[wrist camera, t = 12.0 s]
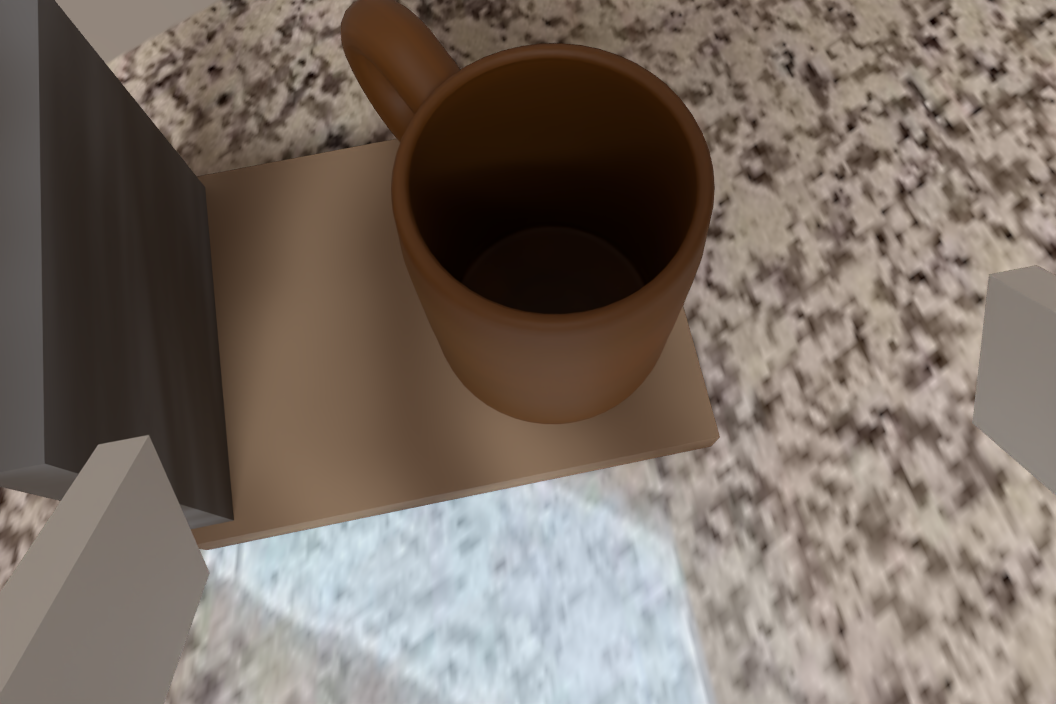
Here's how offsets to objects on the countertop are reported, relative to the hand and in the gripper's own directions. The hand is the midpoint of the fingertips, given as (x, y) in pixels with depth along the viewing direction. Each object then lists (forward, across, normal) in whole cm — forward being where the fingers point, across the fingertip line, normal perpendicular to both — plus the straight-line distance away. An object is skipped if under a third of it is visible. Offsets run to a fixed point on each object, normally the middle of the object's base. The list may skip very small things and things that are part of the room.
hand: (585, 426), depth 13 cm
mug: (+15, 0, -3) cm, 16 cm away
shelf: (+16, -3, -4) cm, 17 cm away
